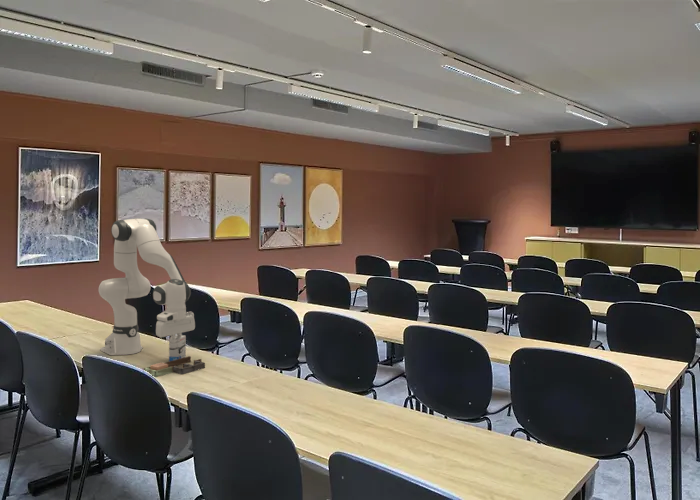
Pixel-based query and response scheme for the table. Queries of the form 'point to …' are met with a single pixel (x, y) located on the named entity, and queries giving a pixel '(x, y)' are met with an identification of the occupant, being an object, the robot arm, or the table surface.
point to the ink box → (177, 349)
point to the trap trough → (173, 368)
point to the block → (158, 366)
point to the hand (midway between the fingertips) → (176, 342)
